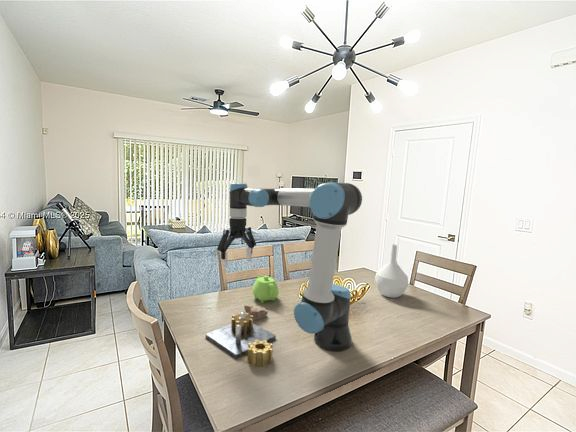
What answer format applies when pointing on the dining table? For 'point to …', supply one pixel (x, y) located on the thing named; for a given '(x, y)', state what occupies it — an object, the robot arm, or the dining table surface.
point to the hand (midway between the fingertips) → (237, 263)
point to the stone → (256, 311)
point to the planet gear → (259, 353)
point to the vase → (391, 278)
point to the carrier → (239, 335)
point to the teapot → (265, 289)
